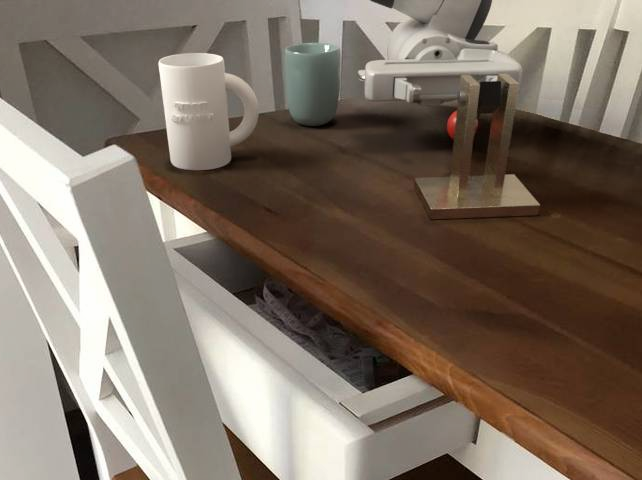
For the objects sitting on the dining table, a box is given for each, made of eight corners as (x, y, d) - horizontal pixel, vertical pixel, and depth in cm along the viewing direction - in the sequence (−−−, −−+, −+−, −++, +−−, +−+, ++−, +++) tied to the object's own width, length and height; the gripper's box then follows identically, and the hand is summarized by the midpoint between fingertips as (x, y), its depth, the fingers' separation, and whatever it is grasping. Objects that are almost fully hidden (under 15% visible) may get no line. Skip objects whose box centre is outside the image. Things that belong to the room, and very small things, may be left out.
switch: (444, 145, 89) (443, 114, 89) (473, 144, 89) (472, 113, 89) (473, 112, 76) (473, 75, 76) (508, 111, 76) (508, 74, 76)
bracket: (413, 187, 88) (423, 69, 80) (512, 184, 88) (531, 66, 80) (430, 219, 80) (442, 92, 72) (538, 215, 81) (562, 88, 73)
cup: (348, 120, 111) (350, 45, 105) (321, 133, 106) (321, 56, 100) (305, 113, 114) (304, 40, 108) (276, 125, 109) (274, 50, 103)
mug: (263, 168, 94) (258, 64, 87) (169, 172, 93) (156, 68, 86) (259, 148, 101) (254, 50, 93) (171, 152, 100) (159, 54, 92)
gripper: (356, 45, 98) (370, 68, 87) (507, 41, 99) (539, 64, 88) (354, 96, 102) (367, 124, 91) (499, 92, 103) (529, 119, 92)
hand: (453, 94), depth 90 cm, fingers open, 8 cm apart
